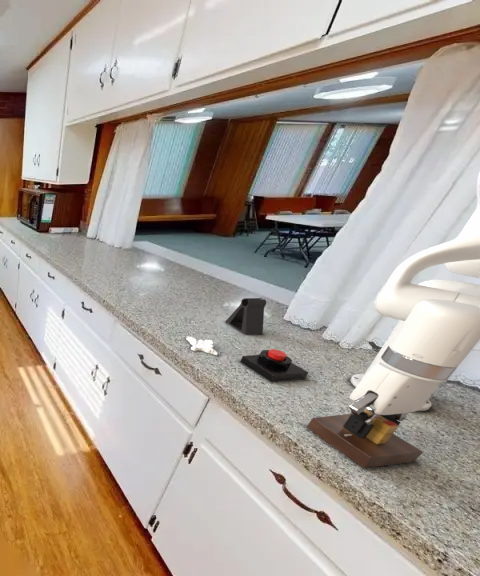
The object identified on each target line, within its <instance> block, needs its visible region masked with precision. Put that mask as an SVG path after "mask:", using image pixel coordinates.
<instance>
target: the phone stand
mask: <svg viewBox="0 0 480 576" xmlns="http://www.w3.org/2000/svg"><path fill="white" fill-rule="evenodd" d="M266 305H267V300H266V299H265V298H264V299H263V297H246V298H245V297H244V298H242V299H241V301H240V304H239V305H238V307H236V309H234V311H233V312H232V314H230V315H229V317H228V318H227V319H226V320H225V323H226V324H228V325H230V326H231V327H232V328H234V329H236V330H237V331H238V332H241V333H242V334H244V335H263V334H264V317H265V307H266Z"/></svg>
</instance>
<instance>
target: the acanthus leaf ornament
mask: <svg viewBox="0 0 480 576" xmlns="http://www.w3.org/2000/svg"><path fill="white" fill-rule="evenodd" d="M186 341H188V343H189V344H190V345H191V347H190V350H191V351H194V352H196V351H197V352H198V351H201V352H205V353H207V354H211V355H214V356H218V355H219V353H218V352H217V350H215V349H214V342H213V340H212V339H204V340H203V339H199V340H197V339H196V338H195V337H192V336H186Z"/></svg>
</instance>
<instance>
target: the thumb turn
mask: <svg viewBox="0 0 480 576" xmlns="http://www.w3.org/2000/svg"><path fill="white" fill-rule="evenodd" d="M364 411H365V413H367V414H368V416H370V415H371V414H373V413H372V412H370V411H369V410H367V409H365V410H364ZM372 424H373V425H374V427H373V428H372V430H371V431H370V432H369V434H368V435H367V436H366V438H368V439H369V440H371V441H373V442H374V443H376V444H385V443H386V442H387V441H388V439H389V438H390V437H391V436H392V434H394V433H395V432H396V430H397V429H398V428H399V427H400V425H398V424H396V423H394V422H392V421H389V420H387V419H386V418H384V417H382V416H380V417H379V418H377V419H376V420H375V421H374V422H373V423H372Z"/></svg>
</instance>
